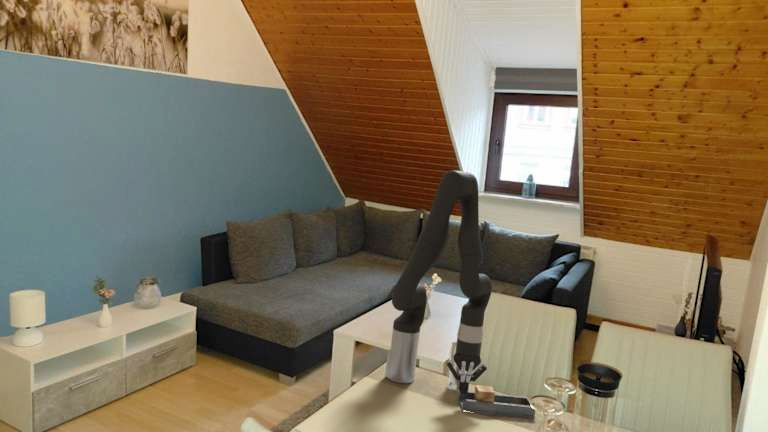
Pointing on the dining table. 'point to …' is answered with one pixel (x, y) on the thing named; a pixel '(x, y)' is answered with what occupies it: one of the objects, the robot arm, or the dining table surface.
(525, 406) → the chute
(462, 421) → the dining table surface
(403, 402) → the dining table surface
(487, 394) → the oak block
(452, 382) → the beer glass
